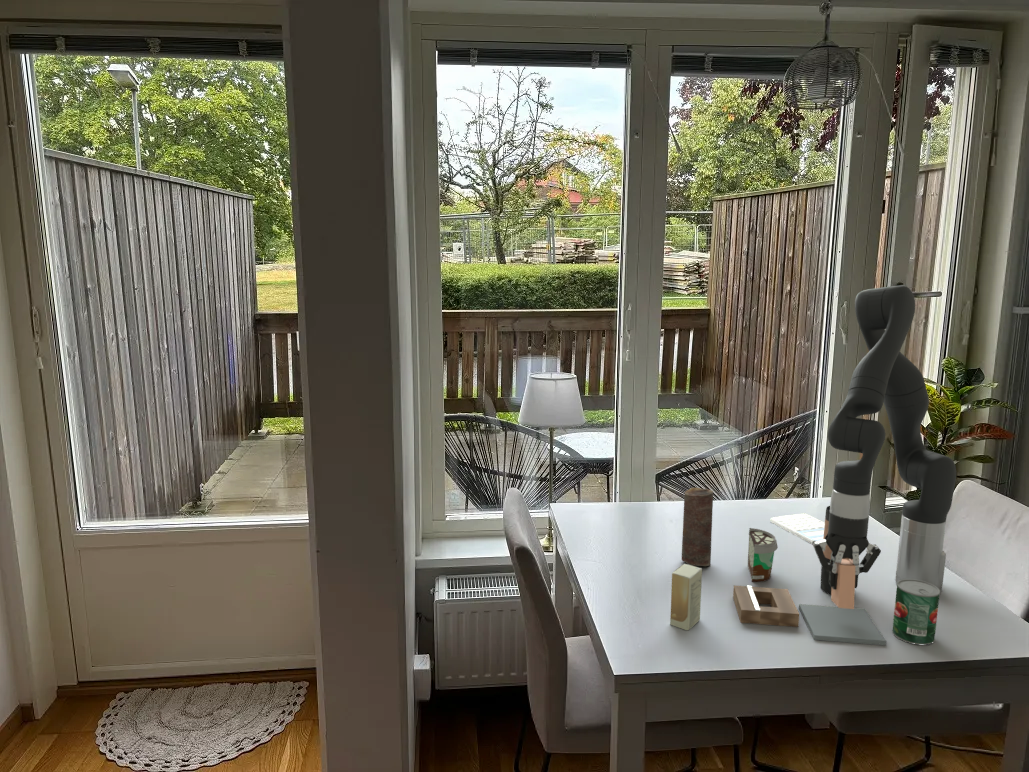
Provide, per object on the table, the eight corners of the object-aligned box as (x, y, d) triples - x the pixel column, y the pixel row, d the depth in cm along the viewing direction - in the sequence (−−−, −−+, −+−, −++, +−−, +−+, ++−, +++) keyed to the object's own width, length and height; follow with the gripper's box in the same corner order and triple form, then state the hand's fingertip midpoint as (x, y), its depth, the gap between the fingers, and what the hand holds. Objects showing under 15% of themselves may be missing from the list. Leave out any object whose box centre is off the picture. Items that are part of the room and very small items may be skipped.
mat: (864, 612, 162) (864, 608, 162) (885, 645, 148) (886, 640, 148) (798, 608, 164) (799, 603, 164) (813, 639, 151) (814, 635, 150)
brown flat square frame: (786, 601, 167) (787, 587, 167) (798, 627, 156) (799, 612, 155) (733, 597, 169) (733, 584, 169) (740, 622, 158) (741, 608, 157)
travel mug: (833, 599, 169) (840, 517, 165) (812, 585, 176) (818, 506, 172) (861, 595, 171) (868, 514, 167) (839, 581, 178) (845, 503, 174)
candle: (698, 572, 183) (702, 496, 179) (674, 563, 188) (678, 489, 185) (716, 564, 187) (720, 490, 184) (692, 555, 193) (696, 483, 190)
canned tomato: (884, 627, 156) (889, 579, 154) (919, 625, 156) (924, 578, 155) (906, 646, 148) (911, 596, 146) (943, 645, 149) (949, 595, 147)
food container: (779, 586, 175) (781, 547, 173) (752, 584, 176) (755, 545, 174) (771, 565, 187) (774, 529, 185) (746, 563, 188) (749, 527, 186)
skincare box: (682, 614, 161) (684, 562, 159) (700, 620, 159) (703, 567, 156) (668, 625, 156) (671, 572, 154) (687, 631, 154) (689, 577, 152)
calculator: (804, 517, 223) (805, 511, 223) (853, 541, 204) (853, 535, 204) (768, 522, 219) (768, 516, 219) (814, 547, 200) (814, 540, 200)
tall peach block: (845, 600, 157) (847, 559, 157) (854, 609, 151) (855, 566, 151) (831, 599, 158) (832, 558, 158) (838, 607, 152) (840, 564, 152)
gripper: (879, 507, 155) (871, 583, 158) (810, 503, 157) (803, 578, 160) (891, 519, 147) (883, 599, 150) (818, 515, 149) (812, 593, 152)
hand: (842, 588), depth 155 cm, fingers closed on tall peach block, 2 cm apart
